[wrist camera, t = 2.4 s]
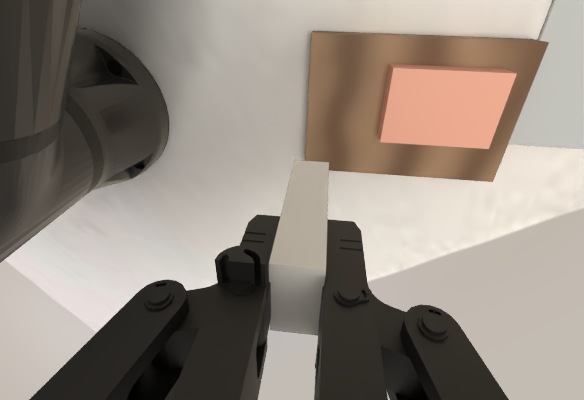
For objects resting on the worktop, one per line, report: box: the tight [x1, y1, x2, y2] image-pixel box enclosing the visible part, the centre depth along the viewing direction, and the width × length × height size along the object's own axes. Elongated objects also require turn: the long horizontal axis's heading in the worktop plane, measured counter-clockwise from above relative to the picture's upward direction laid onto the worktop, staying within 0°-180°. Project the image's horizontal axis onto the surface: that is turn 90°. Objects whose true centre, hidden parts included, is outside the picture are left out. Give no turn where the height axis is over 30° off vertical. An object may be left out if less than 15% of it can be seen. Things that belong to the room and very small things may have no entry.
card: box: [377, 64, 517, 149], centre depth 27 cm, size 9×6×2 cm, turn 88°
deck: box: [305, 31, 549, 182], centre depth 29 cm, size 18×12×2 cm, turn 88°
